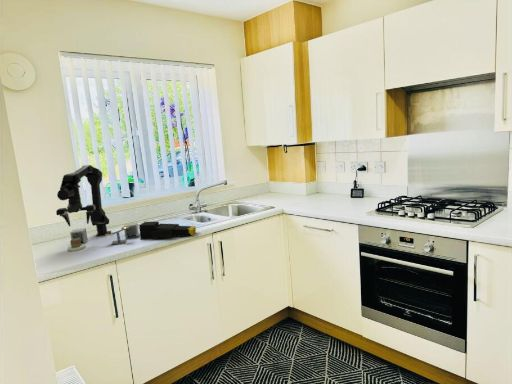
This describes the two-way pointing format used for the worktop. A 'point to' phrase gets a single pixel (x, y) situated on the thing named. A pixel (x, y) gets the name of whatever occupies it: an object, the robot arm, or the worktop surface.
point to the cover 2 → (131, 230)
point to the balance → (117, 236)
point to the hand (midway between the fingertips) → (78, 225)
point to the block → (75, 243)
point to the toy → (164, 230)
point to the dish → (77, 248)
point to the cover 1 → (79, 234)
